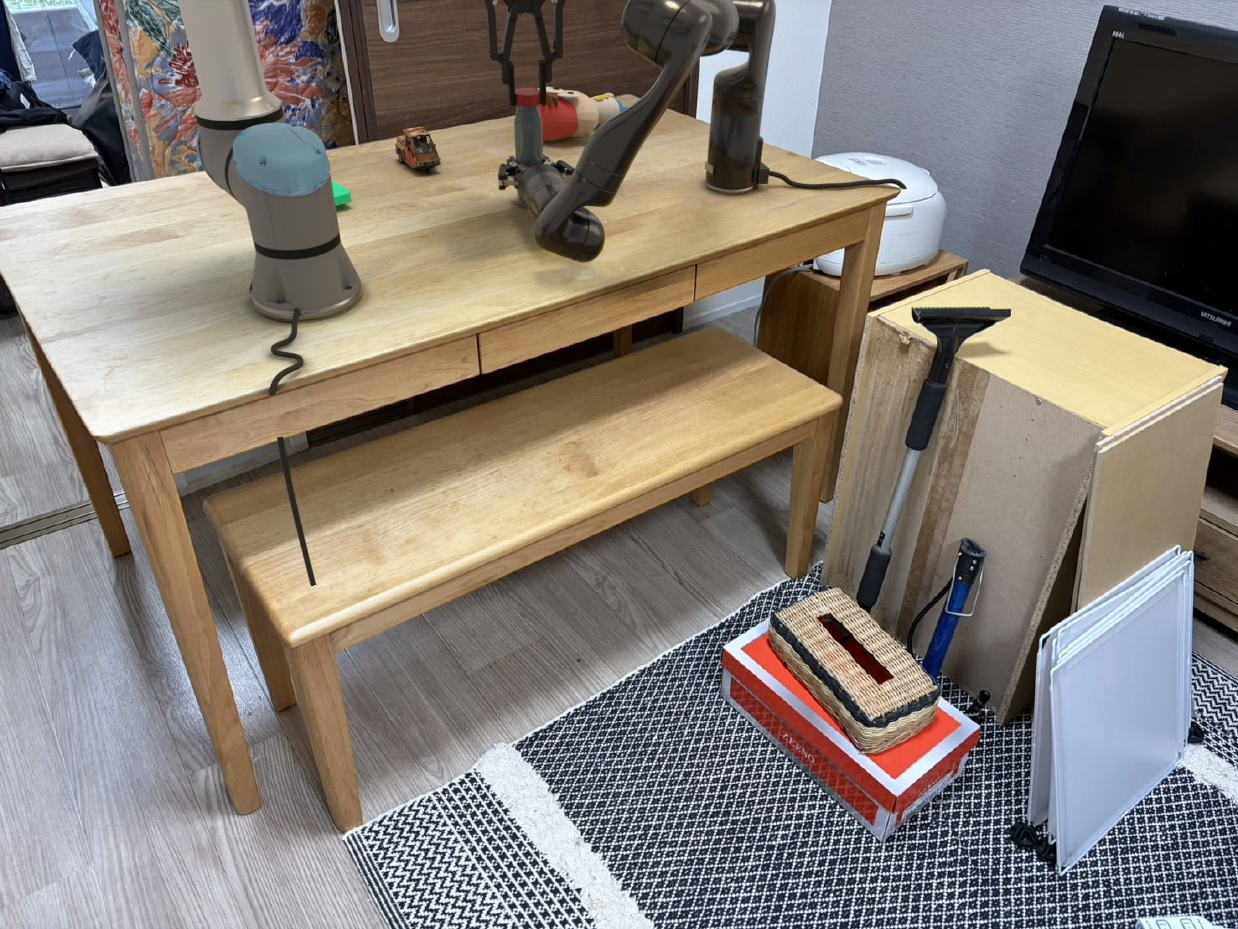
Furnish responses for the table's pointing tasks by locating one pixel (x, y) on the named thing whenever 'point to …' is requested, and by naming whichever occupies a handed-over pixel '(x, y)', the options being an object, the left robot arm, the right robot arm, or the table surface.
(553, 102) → the toy
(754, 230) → the table surface
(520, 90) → the cap
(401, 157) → the toy car
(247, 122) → the left robot arm
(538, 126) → the bottle
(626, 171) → the right robot arm
